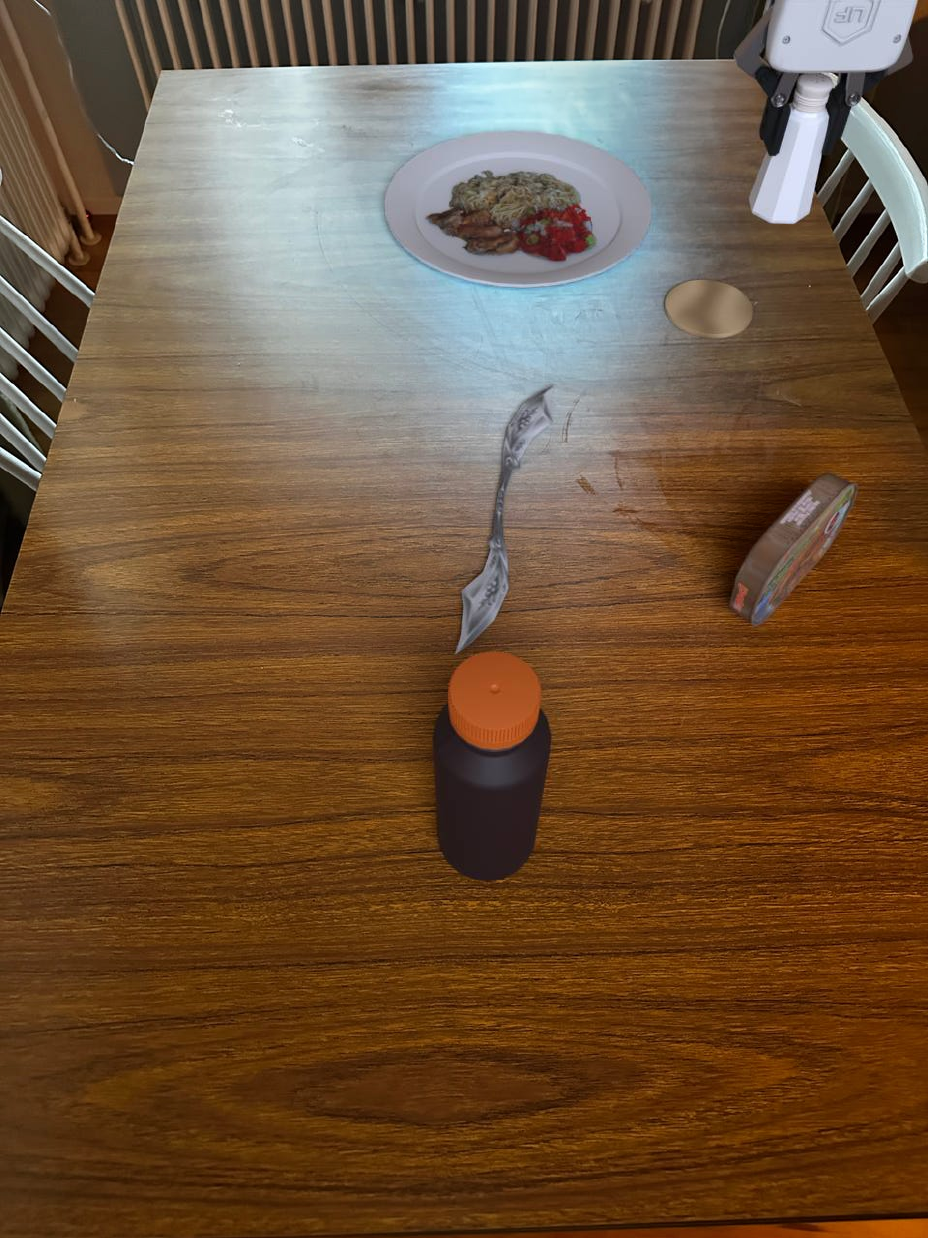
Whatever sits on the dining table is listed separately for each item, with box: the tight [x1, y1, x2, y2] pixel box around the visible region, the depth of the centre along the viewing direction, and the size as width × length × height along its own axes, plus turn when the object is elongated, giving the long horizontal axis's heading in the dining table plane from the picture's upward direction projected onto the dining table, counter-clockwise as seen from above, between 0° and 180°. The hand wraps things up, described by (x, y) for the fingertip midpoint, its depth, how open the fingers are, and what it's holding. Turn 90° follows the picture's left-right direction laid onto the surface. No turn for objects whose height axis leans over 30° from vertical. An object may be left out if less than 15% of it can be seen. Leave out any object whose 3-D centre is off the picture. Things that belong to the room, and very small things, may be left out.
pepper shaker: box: [748, 73, 834, 225], centre depth 80 cm, size 5×5×11 cm
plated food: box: [383, 130, 653, 289], centre depth 107 cm, size 30×30×3 cm
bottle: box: [431, 650, 553, 882], centre depth 58 cm, size 7×7×20 cm
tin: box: [727, 472, 859, 627], centre depth 76 cm, size 15×3×8 cm, turn 137°
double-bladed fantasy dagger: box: [454, 385, 556, 655], centre depth 83 cm, size 32×1×5 cm
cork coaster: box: [664, 279, 754, 339], centre depth 99 cm, size 9×9×1 cm
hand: (796, 144), depth 80 cm, fingers closed on pepper shaker, 3 cm apart
